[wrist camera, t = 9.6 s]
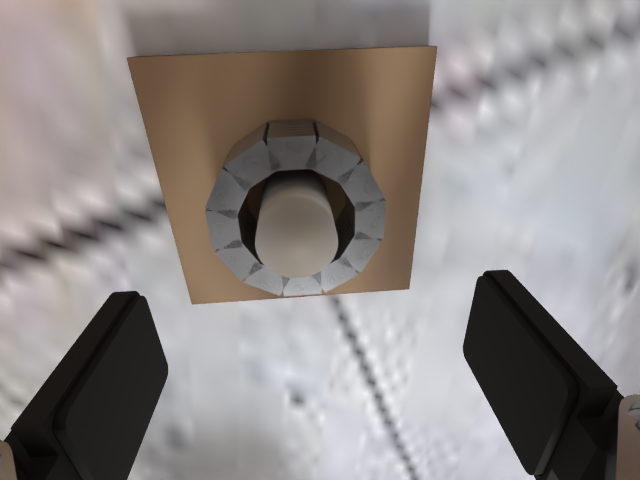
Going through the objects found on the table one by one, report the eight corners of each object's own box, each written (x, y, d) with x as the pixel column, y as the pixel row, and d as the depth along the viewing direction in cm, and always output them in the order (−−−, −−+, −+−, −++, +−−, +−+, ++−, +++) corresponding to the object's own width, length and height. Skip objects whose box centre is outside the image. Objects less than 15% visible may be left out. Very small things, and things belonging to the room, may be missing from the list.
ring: (373, 114, 15) (389, 131, 13) (367, 254, 19) (380, 289, 16) (206, 123, 15) (189, 142, 12) (232, 263, 19) (223, 300, 16)
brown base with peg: (428, 45, 15) (492, 51, 10) (404, 278, 21) (437, 350, 16) (136, 56, 15) (62, 67, 10) (196, 292, 21) (168, 371, 16)
